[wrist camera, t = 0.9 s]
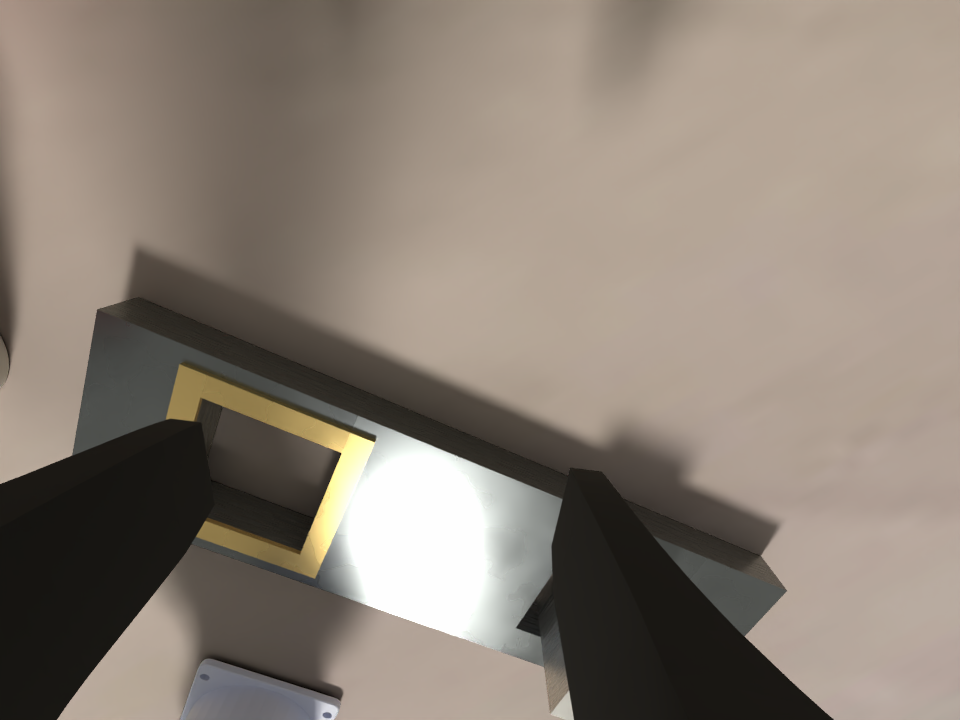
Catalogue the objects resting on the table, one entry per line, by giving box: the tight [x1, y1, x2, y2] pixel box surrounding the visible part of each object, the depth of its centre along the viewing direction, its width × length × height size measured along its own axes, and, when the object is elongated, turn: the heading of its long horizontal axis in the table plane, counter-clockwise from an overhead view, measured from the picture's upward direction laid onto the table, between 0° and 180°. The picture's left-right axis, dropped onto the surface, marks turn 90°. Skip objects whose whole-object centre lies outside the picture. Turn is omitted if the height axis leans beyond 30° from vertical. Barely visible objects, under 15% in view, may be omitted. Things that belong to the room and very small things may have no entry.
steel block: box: [536, 574, 574, 720], centre depth 20 cm, size 4×4×6 cm
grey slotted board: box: [72, 297, 787, 667], centre depth 20 cm, size 9×30×2 cm, turn 65°
